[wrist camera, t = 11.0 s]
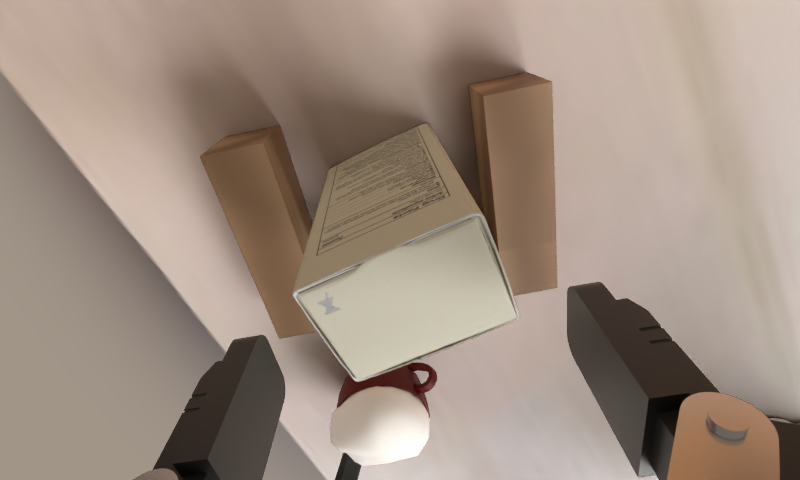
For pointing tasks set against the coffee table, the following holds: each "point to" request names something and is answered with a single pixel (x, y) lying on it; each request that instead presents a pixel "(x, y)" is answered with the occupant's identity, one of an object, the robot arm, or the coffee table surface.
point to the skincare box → (400, 259)
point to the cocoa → (381, 419)
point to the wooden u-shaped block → (499, 181)
